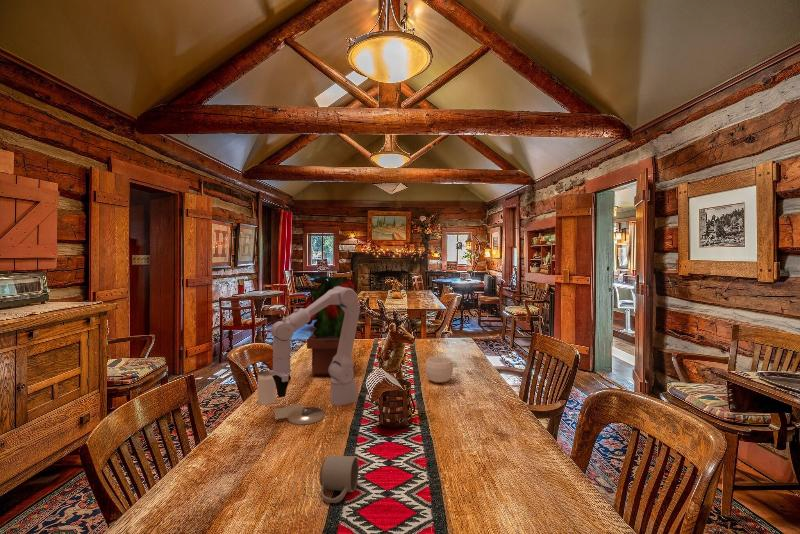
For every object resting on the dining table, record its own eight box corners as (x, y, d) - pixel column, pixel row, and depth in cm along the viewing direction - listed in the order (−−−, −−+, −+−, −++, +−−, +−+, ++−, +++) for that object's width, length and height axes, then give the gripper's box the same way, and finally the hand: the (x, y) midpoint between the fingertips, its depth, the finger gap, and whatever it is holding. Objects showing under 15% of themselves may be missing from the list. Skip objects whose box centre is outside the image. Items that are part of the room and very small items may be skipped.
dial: (318, 408, 144) (318, 394, 144) (327, 421, 133) (328, 405, 133) (272, 415, 137) (272, 400, 137) (277, 429, 126) (277, 413, 126)
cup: (421, 384, 176) (421, 362, 175) (429, 376, 187) (429, 355, 187) (448, 387, 171) (449, 365, 171) (455, 379, 183) (456, 358, 183)
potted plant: (356, 366, 202) (358, 276, 200) (353, 380, 179) (354, 279, 178) (312, 365, 201) (313, 275, 199) (303, 380, 179) (303, 278, 177)
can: (270, 408, 146) (270, 376, 145) (254, 407, 147) (254, 374, 147) (279, 402, 152) (279, 370, 152) (263, 400, 154) (263, 369, 153)
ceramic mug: (327, 477, 103) (327, 448, 102) (359, 480, 101) (359, 450, 101) (312, 503, 92) (312, 471, 92) (347, 507, 91) (347, 474, 91)
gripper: (266, 353, 142) (266, 391, 142) (272, 363, 129) (272, 405, 129) (287, 351, 145) (286, 388, 146) (295, 361, 132) (294, 402, 132)
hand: (281, 396), depth 138 cm, fingers closed
